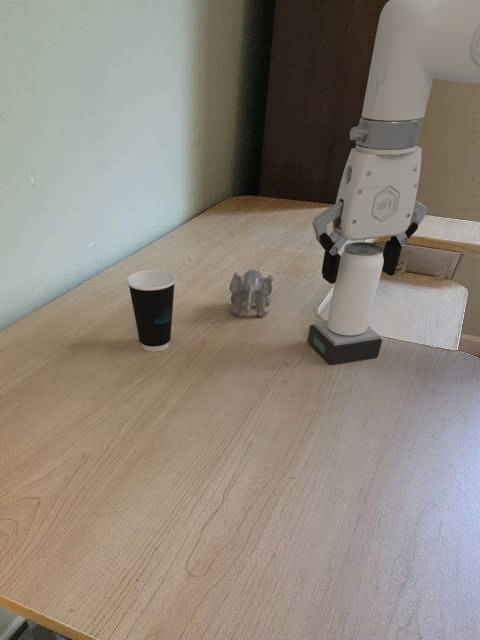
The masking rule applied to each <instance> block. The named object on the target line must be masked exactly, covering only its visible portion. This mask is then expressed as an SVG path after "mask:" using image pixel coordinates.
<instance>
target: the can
mask: <svg viewBox="0 0 480 640" xmlns="http://www.w3.org/2000/svg"><path fill="white" fill-rule="evenodd" d="M384 248H385V247H383V246H382V245H380V244H377V243H374V242H368V241H355V242H354V241H353V242H349V243H346V244H344V246H343V249H344V250H343V251H342V253H341V254H340V256H341V258H340V263H339V268H338V274H337V279H336V282H335V283H334V285H333V289H332V294H331V299H330V306H329V310H328V316H327V320H328V321H327V327H328V328H329V330H330V331H331V332H332V333H334V334H337V335H340V336H358V335H361V334H363V333H364V332H365V331H366V330H367V328H368V326H369V324H370V320H371V317H372V313H373V308H374V305H375V300H376V296H377V292H378V288H379V285H380V281H381V275H382V272H383V271H382V268H383V263H384V258H383V252H384Z"/></svg>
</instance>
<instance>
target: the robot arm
mask: <svg viewBox="0 0 480 640" xmlns="http://www.w3.org/2000/svg"><path fill="white" fill-rule="evenodd" d="M368 72H369V73H368V79H367V84H366V89H365V95H364V101H363V105H362V112H361V117H360V118H359V122H358V125H357V126H352V127H351V129H350V131H349V139H350V141H355V147H353V148H351V150H350V152H349V154H348V157H347V159H346V163H345V167H344V170H343V174H342V176H341V180H340V184H339V188H338V191H337V196H336V199H335V203H334V204H333V205H331V206H330V207H329V208H327V209H326V210H324V211H323V212H321V213H320V214H318V215H316V216H315V217H314V218H313V219H312V226H313V231H314V233H315V238H316V241H317V242H318V243H319V244H320V246H321V247H322V249H323V250H324V255H323V260H322V266H321V275H322V279H323V280H325V281H326V282H327V283H329V284H330V285H333V284H334V283H335V282H336V279H337V274H338V268H339V263H340V258H341V254H340V253H339V251H340V250H341V249H342V248H343V247H344V246H345V245H346V244H347V242H348V240H349V241H353V242H354V241H355V242H357V241H365V240H372V239H373V240H375V239H381V238H389V240H386V242H385V243H384V247H383V248H384V251H383V258H384V263H383V268H382V272H383V273H385V274H386V275H388V276H391V277H392V276H394V275H395V273H396V269H397V266H398V265H399V260H400V257H401V253H402V250H403V247H405V246H406V245H407V244H408V242H409V239H410V238H411V237H412V236H413V235H414V234H415V233H416V232H417V231H418V228H419V225H420V224H421V223H422V221H423V220H424V218H425V217H426V216H427V214H428V211H429V209H428V207H427V206H425V205H424V204H422V203H421V202H419V201H418V200H416V199H417V194H418V187H419V183H420V175H421V167H422V153H423V152H422V147H420V146H418V143H419V139H420V135H421V130H422V128H423V127H422V126H423V123H424V119H425V114H426V111H427V107H428V104H429V99H430V94H431V91H432V87H433V83H434V80H441V81H442V80H443V81H450V82H456V83H461V84H470V85H471V84H472V85H473V84H479V83H480V0H388V1H387V2H386V3H385V4H384V5H383V8H382V9H381V12H380V14H379V19H378V23H377V28H376V34H375V40H374V44H373V50H372V56H371V61H370V68H369V71H368ZM330 223H332V224H331V225H332V231H331V232H330V233H329V234H328V231H327V227H328V225H329V224H330Z"/></svg>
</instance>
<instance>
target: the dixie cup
mask: <svg viewBox="0 0 480 640" xmlns="http://www.w3.org/2000/svg"><path fill="white" fill-rule="evenodd" d="M176 282H177V276H176V275H175V274H174V273H172V272H170V271H167V270H163V269H162V270H161V269H146V270H140V271H137V272H134V273H132V274H130V275H129V276H128V277H127V278H126V284H127V286H128V288H129V293H130V298H131V303H132V304H131V305H132V309H133V315H134V320H135V325H136V330H137V335H138V340H139V341H138V342H140V344H141V349H142V350H144V351H147V352H154V353H156V352H157V353H158V352H162V351H165V350H167V349H168V348H169V346H170V341H171V338H172V326H173V325H172V323H173V309H174V297H175V284H176Z"/></svg>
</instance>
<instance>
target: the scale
mask: <svg viewBox="0 0 480 640" xmlns="http://www.w3.org/2000/svg"><path fill="white" fill-rule="evenodd" d="M327 321H328V319H327V320H319V321H314V322H313V324H310V325H309V329H308V336H307V341H308V342H309V343H308V342H307V343H308V345H309V346H310V347H311V346H312V347H313V348H314V349H315V350H314V349H313V348H312V347H311V348H312V349H313V350H314V351H315V352H316V353H317V354H318V355H319V356H320V357H321V358H322V359H323V361H325V362H326V363H327V364H328V365H329V366H333V365H340V364H347V363H353V362H359V361H366V360H371V359H377V358H378V357H379V354H380V350H381V347H382V343H383V339H382V338H381V337H380V334H379V333H377V332H376V330H375V331H374V329H372V327H370V326H369V325H368V328H367V330H366V331H365V332H364V333H363V334H361V335H358V336H340V335H337V334H334V333H332V332H331V331H330V330H329V328H328V327H327Z"/></svg>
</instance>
